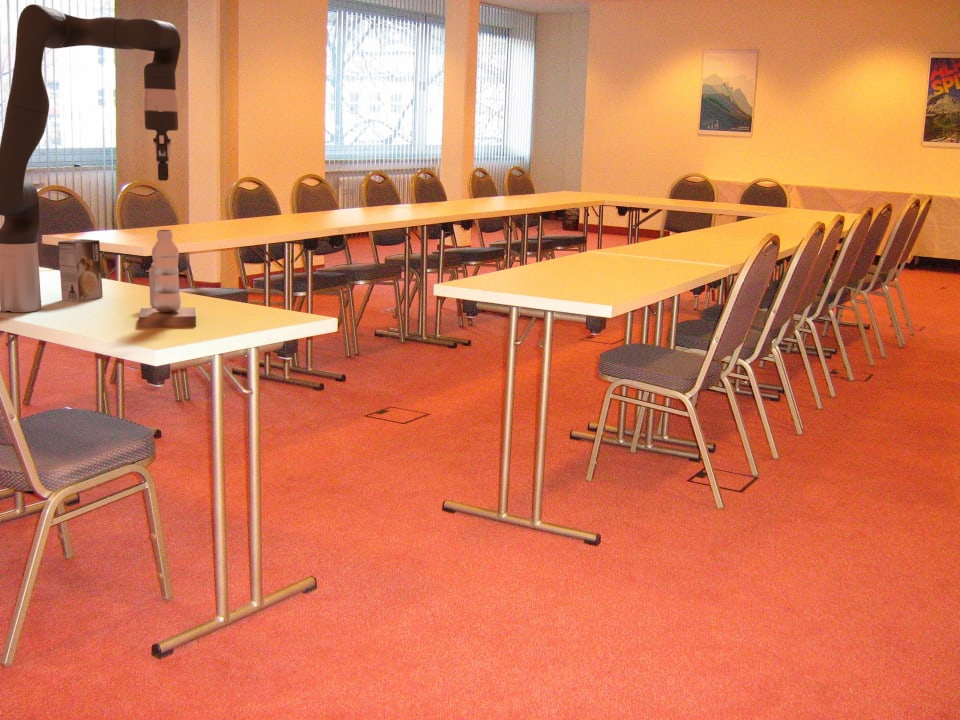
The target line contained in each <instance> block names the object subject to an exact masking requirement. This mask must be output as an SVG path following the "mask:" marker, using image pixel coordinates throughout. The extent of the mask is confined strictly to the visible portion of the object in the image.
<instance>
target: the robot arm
mask: <svg viewBox="0 0 960 720" xmlns="http://www.w3.org/2000/svg"><path fill="white" fill-rule="evenodd" d="M181 43H182V42H181V35H180V33H179V30H178V29H177V27H176V26H175V25H174V24H172V23H171V22H168V21H163V20H158V19H152V18H126V17H118V16H117V17H115V16H101V17H94V18H83V17H77V16H73V15H70V14H68V13H63V12H61V11H59V10H57V9H55V8H51V7H48V6H45V5H44V6H43V5H40V4H36V3H35V4H28V5H27V6H25V7H24V8H23V9H22V11H21V12H20V15H19V18H18V22H17V28H16V41H15V53H14V54H15V55H14V63H13V64H14V65H13V72H12V78H11V85H10V89H9V90H10V91H9V95H8V100H7V103H6V110H5V116H4V122H3V123H4V124H3V129H2V133H1V140H0V216H2V217H4V218H3V219H4V221H3V223H2V226H0V227H1V228H0V312H6V311H11V312H10V313H28V312H36V311H40V310H42V296H41V294H42V292H41V280H40V279H41V278H40V264H39V263H40V262H39V261H40V260H39V247H38V234H39V233H40V225H41V223H40V222H41V219H40V217H41V216H40V214H41V213H40V197H39V193H38V190H37V188H36V186H35V185H34V183H33V182H32V181H30V180H28V179H27V178H25V176H26V172H27V169H28V163H29V161H30V159H31V158H32V156H33V153H34V152H35V150H36V149H37V147H38V145H39V144H40V142H41V140H42V138H43V137H44V134H45V132H46V127H47V122H48V118H49V111H50V99H49V95H48V90H47V88H46V87H47V86H46V83H45V80H44V76H43V59H44V53H45V48H47V49H55V50H56V49H62V48H63V49H64V48H71V47H79V46H81V47H82V46H91V47H100V48H107V49H114V50H115V49H116V50H141V51H148V52H153V58H152V61H151V62H150V63H146V64H145V65H144V68H143V77H144V78H143V80H144V81H143V82H144V83H143V85H144V91H143V92H144V94H143V110H144V111H143V112H144V113H143V114H144V115H143V117H144V128H145V130H146V131H155V132H156V134H155V137H153V138H152V141H153V143H152V144H153V147H154V156H155V157H156V158H155V159H156V161H155V163H156V164H157V179H158V181H164V182H165V181H168V180H169V162H170V156H171V146H172V140H171V138H169V135H168V132H169V131H171V132H172V131H174V132H177V131H178V130H179V112H178V109H179V107H178V96H177V88H176V87H177V84H176V82H177V80H176V72H177V71H176V70H177V67H178V64H179V63H178V61H179V58H180V54H181V53H180V52H181V51H180V50H181V45H182V44H181Z"/></svg>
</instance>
